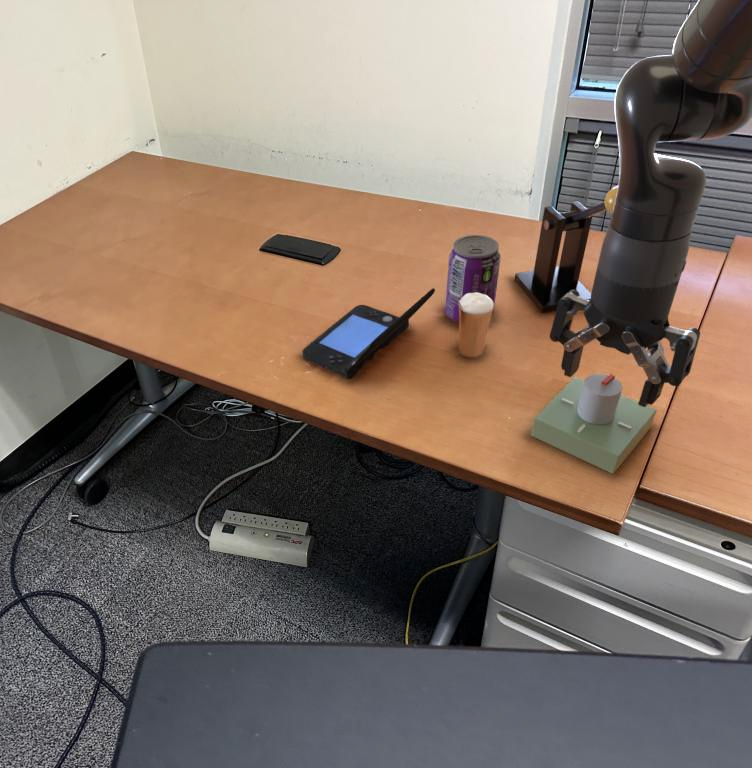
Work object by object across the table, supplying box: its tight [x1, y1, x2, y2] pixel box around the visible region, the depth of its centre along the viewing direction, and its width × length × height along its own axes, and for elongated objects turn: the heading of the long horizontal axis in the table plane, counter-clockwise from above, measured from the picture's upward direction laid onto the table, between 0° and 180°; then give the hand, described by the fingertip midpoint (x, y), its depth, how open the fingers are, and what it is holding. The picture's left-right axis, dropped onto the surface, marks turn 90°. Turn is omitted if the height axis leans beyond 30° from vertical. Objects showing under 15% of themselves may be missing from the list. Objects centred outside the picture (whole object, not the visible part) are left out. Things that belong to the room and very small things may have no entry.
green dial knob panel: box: [530, 376, 658, 475], centre depth 83 cm, size 10×10×3 cm
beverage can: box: [444, 234, 502, 323], centre depth 101 cm, size 7×7×12 cm
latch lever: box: [559, 185, 618, 232], centre depth 92 cm, size 17×4×4 cm
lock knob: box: [577, 373, 624, 425], centre depth 80 cm, size 4×4×5 cm
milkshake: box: [456, 292, 495, 359], centre depth 95 cm, size 4×5×10 cm
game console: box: [301, 287, 436, 380], centre depth 99 cm, size 16×14×9 cm
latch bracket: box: [514, 201, 594, 314], centre depth 103 cm, size 10×8×14 cm
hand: (606, 387), depth 79 cm, fingers open, 8 cm apart
